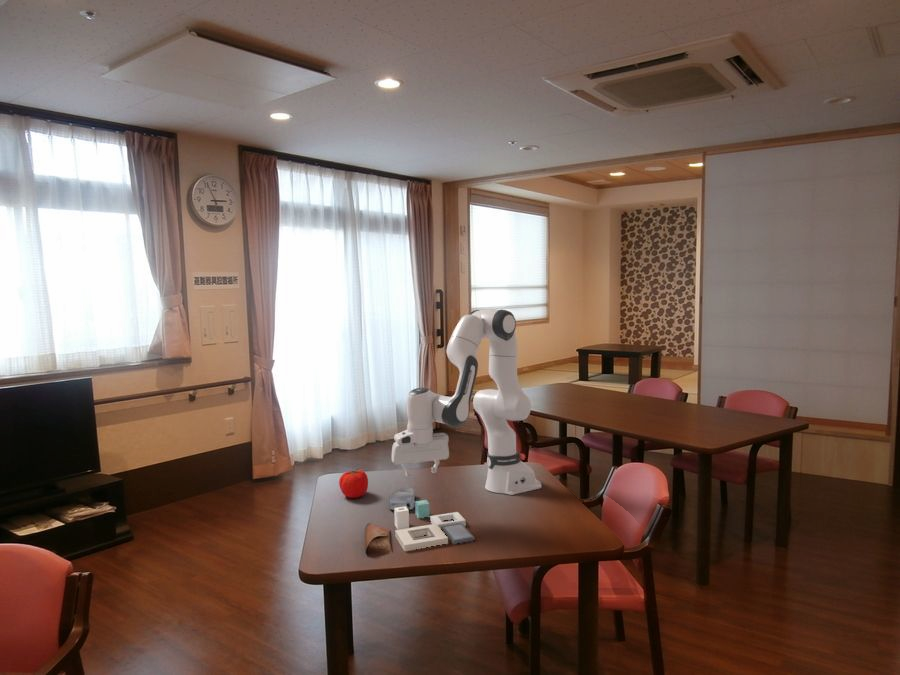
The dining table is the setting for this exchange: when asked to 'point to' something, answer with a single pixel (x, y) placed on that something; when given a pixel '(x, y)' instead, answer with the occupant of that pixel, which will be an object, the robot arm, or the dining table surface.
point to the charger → (401, 517)
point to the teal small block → (422, 509)
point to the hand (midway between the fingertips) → (421, 473)
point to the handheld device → (402, 498)
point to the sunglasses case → (377, 540)
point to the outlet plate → (432, 539)
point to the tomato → (354, 483)
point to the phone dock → (453, 527)
